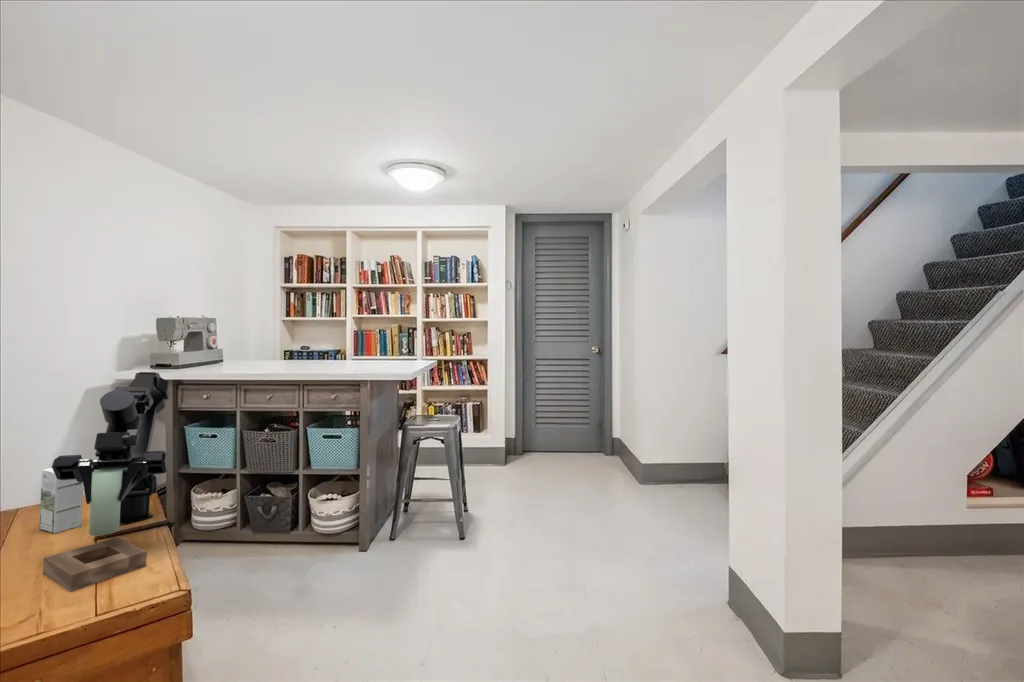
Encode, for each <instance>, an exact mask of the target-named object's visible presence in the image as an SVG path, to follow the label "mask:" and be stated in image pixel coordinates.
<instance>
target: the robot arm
mask: <svg viewBox="0 0 1024 682" xmlns="http://www.w3.org/2000/svg"><path fill="white" fill-rule="evenodd" d="M170 397H171V386H170V382H169V381H168V380H166V379H164V378H163V377H161V375H160V373H159V372H156V371H150V372H149V371H139V372H136V373H135V375H134V379H133V380H132V381H131V382H130V383H129V384H128V385H127V386H115V389H114V390H111V391H108V392H106V393H104V395H102V396H101V397H100V400H99V403H100V407H101V411H102V415H103V418H104V421H105V422H106V423H107V426H106V430H105V432H98V433H96V437H95V442H94V447H93V448H94V450H95V453H94V454H95V458H96V457H97V459H96V460H95V459H94V460H92V459H90V458H83V457H82V455H81V454H70V455H69V454H68V455H67V454H66V455H58V456H57V457H56V458H54V460H53V462H52V464H51V468H52V469H53V471H54V473H55V475H56V477H57V479H59V480H72V479H76V480H77V482H83V491H84V496H85V503H86V505H89V504H90V505H91V487H92V472H94V471H97V470H100V469H107V468H120V469H122V470H123V471H122V488H121V491H120V495H119V501H121V507H120V525H127V524H131V523H134V522H138V521H141V520H145V519H146V520H147V519H150V518H152V517H153V514H151V513H150V501H151V500H150V499H151V496H153V495H154V494H157V493H158V492H157V491H158V482H157V476H156V475H161V474H165V473H167V471H168V465H169V462H168V461H169V460H168V454H167V452H166V451H165V450H158V451H157V450H155V451H150V448H151V443H152V439H153V434H154V431H155V425H156V419H157V415H158V414H159V413H160V412H161V411H162V410H164V409H165V407H166V404H167V402H168V401H169V399H170ZM167 400H168V401H167ZM130 522H131V523H130Z"/></svg>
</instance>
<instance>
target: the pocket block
mask: <svg viewBox="0 0 1024 682" xmlns="http://www.w3.org/2000/svg"><path fill="white" fill-rule="evenodd" d="M147 554H148V551H147V550H145V549H143V548H140V547H139V546H136V545H135V544H132V543H130V542H129V541H126V540H124V539H122V538H121V537H119V536H118V537H113V538H110V539H107V540H104V541H99V542H96V543H93V544H88V545H86V546H81V547H78V548H75V549H72V550H71V549H70V550H67V551H64V552H61V553H57V554H54V555H50V556H46V557H43V565H42V575H44V576H45V577H47V578H49V579H50V580H52V581H53V582H55V583H56V584H58V585H59V586H61V587H62V588H64V589H65V590H67V591H68V592H70V593H71V592H74V591H77V590H80V589H83V588H86V587H90V586H92V585H95V584H98V583H101V582H103V581H107V580H110V579H113V578H117V577H118V576H121V575H124V574H127V573H129V572H133V571H136V570H139V569H142V568H144V567H147V556H148V555H147Z"/></svg>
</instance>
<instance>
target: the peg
mask: <svg viewBox="0 0 1024 682" xmlns="http://www.w3.org/2000/svg"><path fill="white" fill-rule="evenodd" d="M122 471H123V470H122V469H120V468H107V469H100V470H95V471H94V472H92V487H91V502H90V507H89V508H90V509H89V528H88V535H90V536H94V537H97V536H99V537H100V536H106V535H111V534H113V533H116V532H117V531H119V530H120V525H121V523H120V507H121V501H119V495H120V491H121V488H122Z"/></svg>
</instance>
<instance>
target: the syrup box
mask: <svg viewBox="0 0 1024 682" xmlns="http://www.w3.org/2000/svg"><path fill="white" fill-rule="evenodd" d="M40 485H41V487H40V504H39V505H40V507H39V527H38V528H39V529H38V530H40V531H44V532H47V533H51V534H58V532H59V533H61V531H63V532H65V531H64V530H66V531H69V530H72V529H71V528H73V529H77V528H78V527H82V518H83V517H82V514H83V513H82V512H83V492H84V484H83V482H77V480H76V479H72V480H59V479H57V477H56V475H55V473H54V471H53V469H52V467H48V468H46V469H45V468H44V469H42V470H41V484H40ZM68 529H69V530H68Z"/></svg>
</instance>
